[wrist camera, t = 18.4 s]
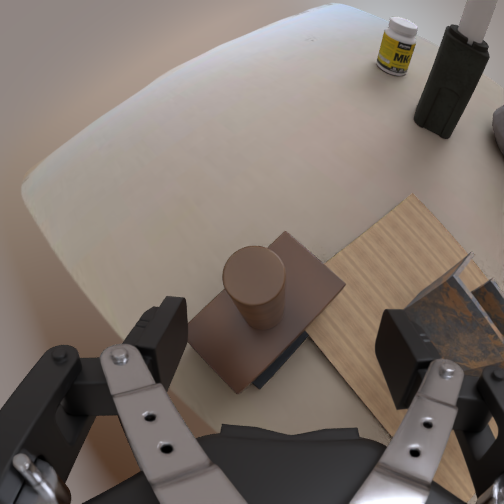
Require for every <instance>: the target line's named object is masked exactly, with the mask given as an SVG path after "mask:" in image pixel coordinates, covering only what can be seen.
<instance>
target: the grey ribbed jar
mask: <svg viewBox="0 0 504 504" xmlns="http://www.w3.org/2000/svg"><path fill="white" fill-rule="evenodd" d="M492 126H493V130H494V134H495V138H496V142H497V144H498V146H499V148H500V150H501V151H502V153H503V154H504V105H503V106H501V107H500V108H498V109H496V111H495V112H494V113H493V122H492Z"/></svg>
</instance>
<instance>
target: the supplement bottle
mask: <svg viewBox="0 0 504 504" xmlns="http://www.w3.org/2000/svg"><path fill="white" fill-rule="evenodd" d="M417 29H418V27H417V25H416V24H414V23H413V22H411V21H409V20H406V19H404V18H401V17H391V18H390V21H389V27H387V28H386V29H385V30H384V34H383V39H382V43H381V46H380V50H379V54H378V58H377V65H378V66H379V67H380V68H381V69H382V70H384V71H385V72H387V73H389V74H392V75H396V76H402V75H405V74H406V72H407V69H408V66H409V63H410V60H411V57H412V54H413V51H414V48H415V45H416V38H415V36H416V34H417Z"/></svg>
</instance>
